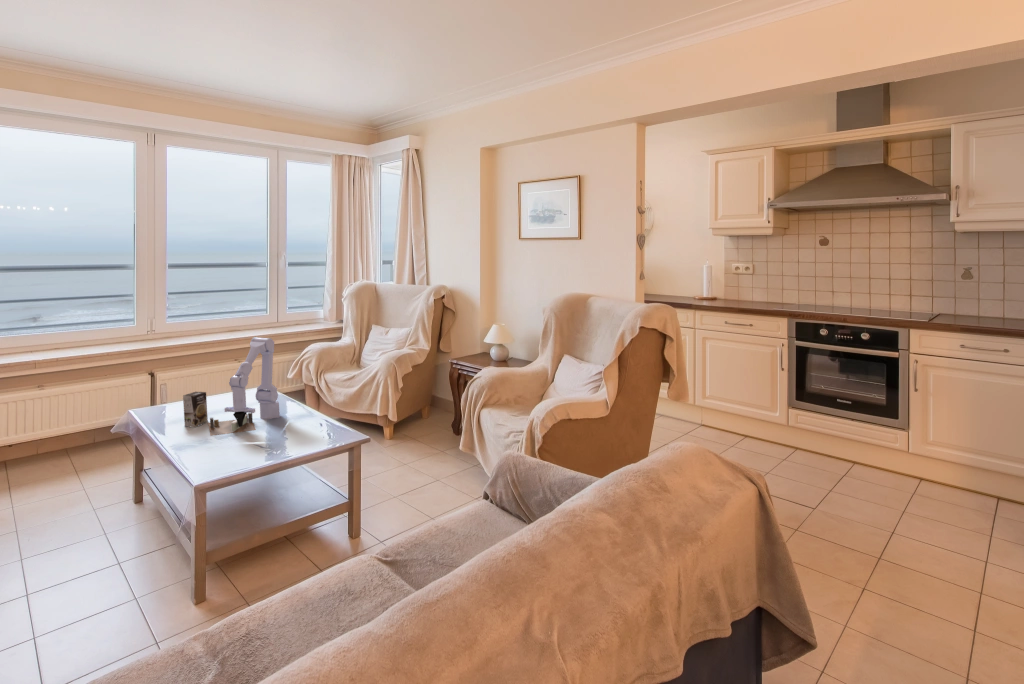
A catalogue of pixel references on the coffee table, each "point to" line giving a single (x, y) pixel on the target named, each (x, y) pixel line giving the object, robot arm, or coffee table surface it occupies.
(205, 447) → the coffee table surface
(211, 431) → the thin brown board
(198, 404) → the coffee box
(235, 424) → the gate
